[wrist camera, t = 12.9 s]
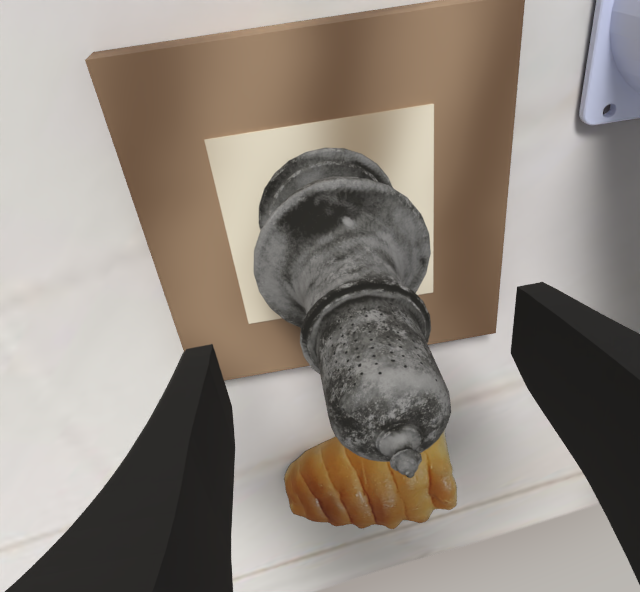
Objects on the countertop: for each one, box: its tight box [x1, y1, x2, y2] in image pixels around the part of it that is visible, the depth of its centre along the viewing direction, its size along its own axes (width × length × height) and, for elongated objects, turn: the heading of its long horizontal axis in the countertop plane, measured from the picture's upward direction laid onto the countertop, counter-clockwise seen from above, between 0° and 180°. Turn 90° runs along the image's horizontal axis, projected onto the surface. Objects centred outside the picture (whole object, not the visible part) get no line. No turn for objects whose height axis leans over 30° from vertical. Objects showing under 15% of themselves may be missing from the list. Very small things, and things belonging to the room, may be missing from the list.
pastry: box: [284, 430, 457, 529], centre depth 30 cm, size 9×7×4 cm
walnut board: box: [85, 0, 525, 380], centre depth 22 cm, size 14×14×1 cm
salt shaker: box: [254, 148, 451, 478], centre depth 16 cm, size 6×6×12 cm
